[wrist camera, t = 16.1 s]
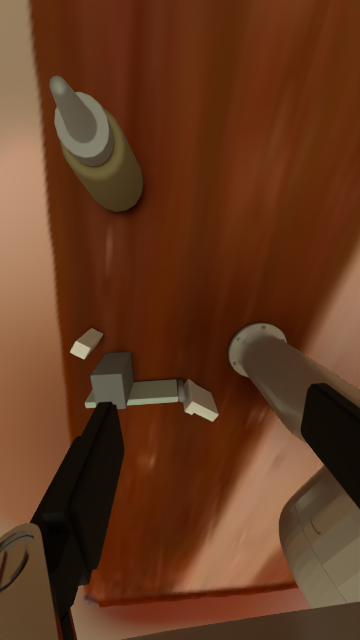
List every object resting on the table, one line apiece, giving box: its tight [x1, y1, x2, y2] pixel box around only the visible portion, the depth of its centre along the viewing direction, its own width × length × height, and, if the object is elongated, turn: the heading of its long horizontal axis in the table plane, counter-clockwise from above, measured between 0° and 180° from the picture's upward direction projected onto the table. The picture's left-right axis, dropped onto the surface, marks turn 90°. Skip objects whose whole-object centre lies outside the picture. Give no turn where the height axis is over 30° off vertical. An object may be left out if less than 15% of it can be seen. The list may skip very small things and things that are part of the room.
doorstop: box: [90, 352, 134, 409], centre depth 35 cm, size 5×7×8 cm
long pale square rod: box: [85, 379, 186, 408], centre depth 37 cm, size 19×2×6 cm, turn 91°
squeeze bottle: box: [50, 76, 143, 212], centre depth 21 cm, size 8×8×18 cm
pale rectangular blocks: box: [70, 328, 219, 422], centre depth 36 cm, size 30×3×7 cm, turn 57°
